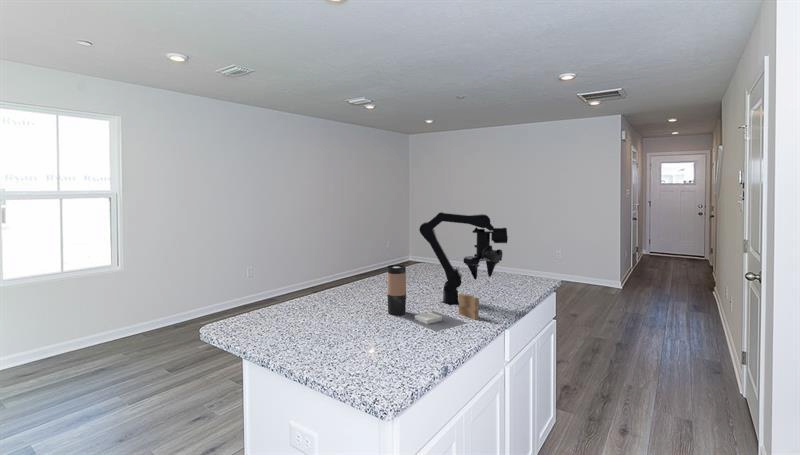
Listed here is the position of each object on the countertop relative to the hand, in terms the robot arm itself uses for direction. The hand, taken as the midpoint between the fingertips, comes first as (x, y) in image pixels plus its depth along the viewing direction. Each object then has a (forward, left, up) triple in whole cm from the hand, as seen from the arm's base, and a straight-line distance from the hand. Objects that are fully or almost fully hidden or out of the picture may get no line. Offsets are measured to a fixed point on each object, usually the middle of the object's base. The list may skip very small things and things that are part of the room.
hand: (482, 278), depth 188 cm
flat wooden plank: (+10, -19, -12) cm, 25 cm away
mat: (+6, -33, -12) cm, 36 cm away
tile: (+4, -31, -11) cm, 33 cm away
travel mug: (-11, -39, -12) cm, 42 cm away
